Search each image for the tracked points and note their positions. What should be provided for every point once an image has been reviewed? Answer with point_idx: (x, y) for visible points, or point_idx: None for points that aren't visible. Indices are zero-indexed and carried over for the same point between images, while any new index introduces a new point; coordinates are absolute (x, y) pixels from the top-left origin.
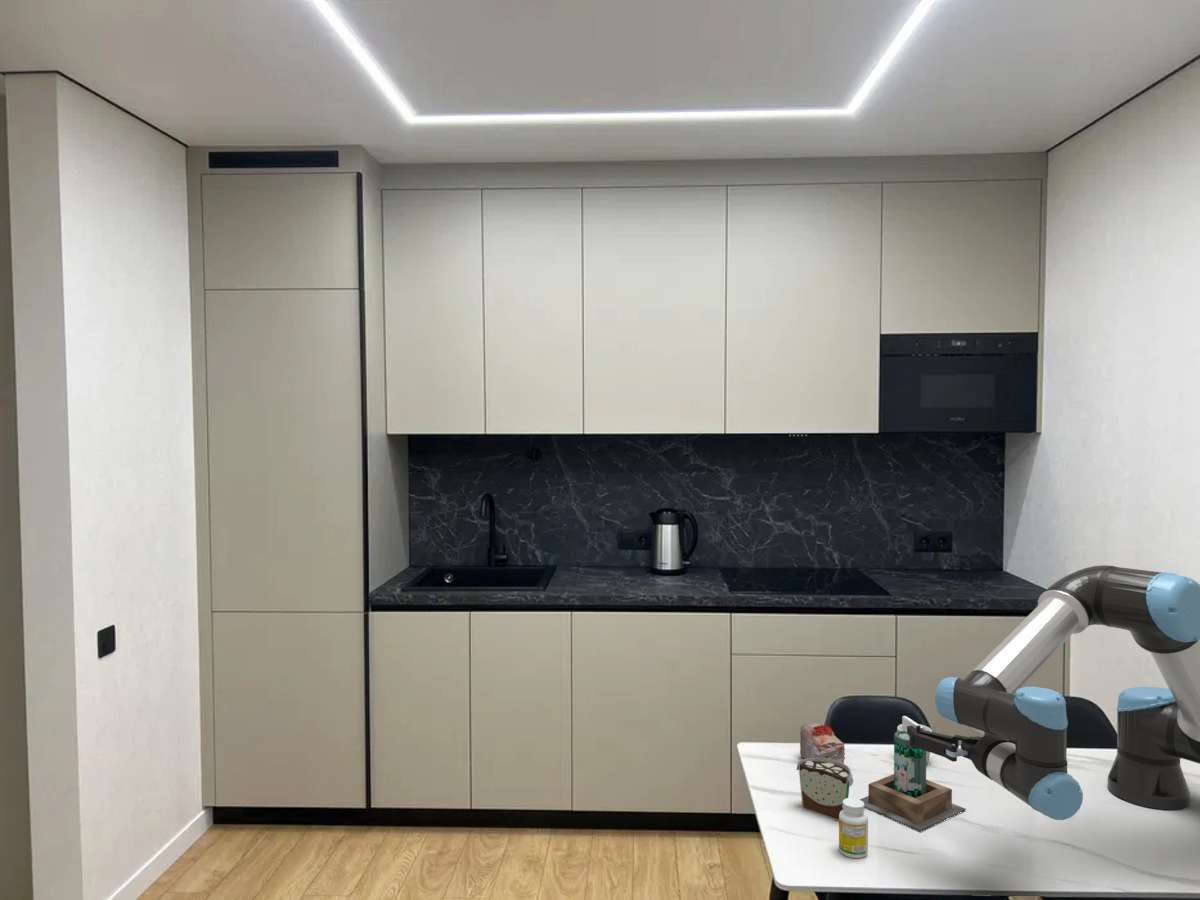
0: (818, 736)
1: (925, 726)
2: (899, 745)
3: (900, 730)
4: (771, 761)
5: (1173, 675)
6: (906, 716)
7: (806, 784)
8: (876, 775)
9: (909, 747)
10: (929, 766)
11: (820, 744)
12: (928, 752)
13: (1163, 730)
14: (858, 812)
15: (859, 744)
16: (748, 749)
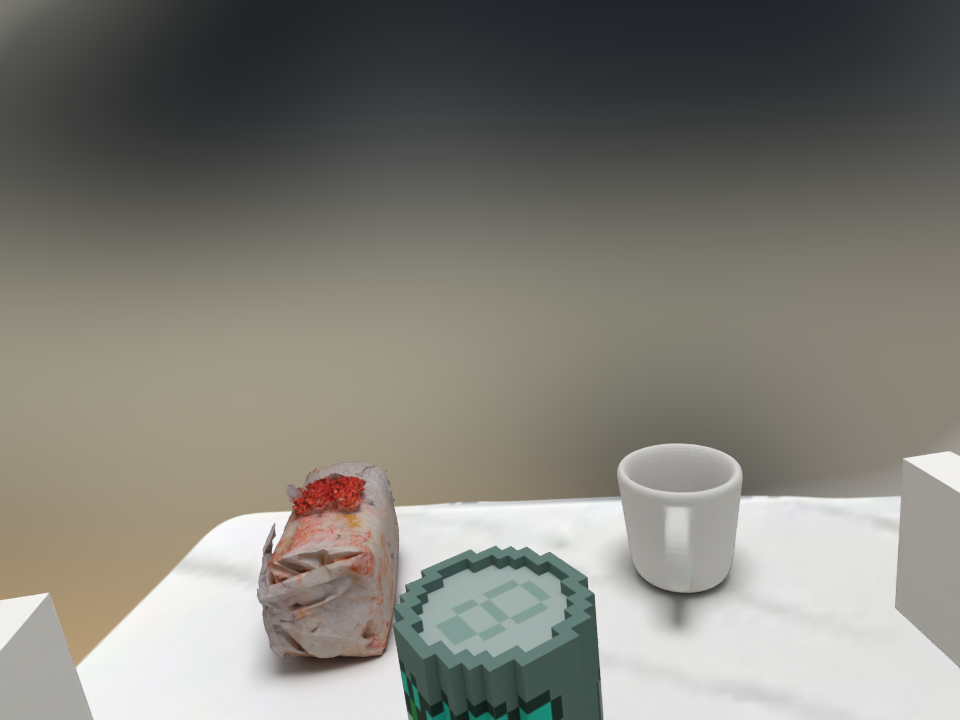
0: (299, 520)
1: (722, 454)
2: (407, 673)
3: (622, 476)
4: (215, 586)
5: None
6: (38, 605)
7: None
8: None
9: (450, 705)
10: (728, 597)
11: (275, 558)
12: (724, 550)
13: None
14: None
15: (538, 503)
16: (208, 536)
